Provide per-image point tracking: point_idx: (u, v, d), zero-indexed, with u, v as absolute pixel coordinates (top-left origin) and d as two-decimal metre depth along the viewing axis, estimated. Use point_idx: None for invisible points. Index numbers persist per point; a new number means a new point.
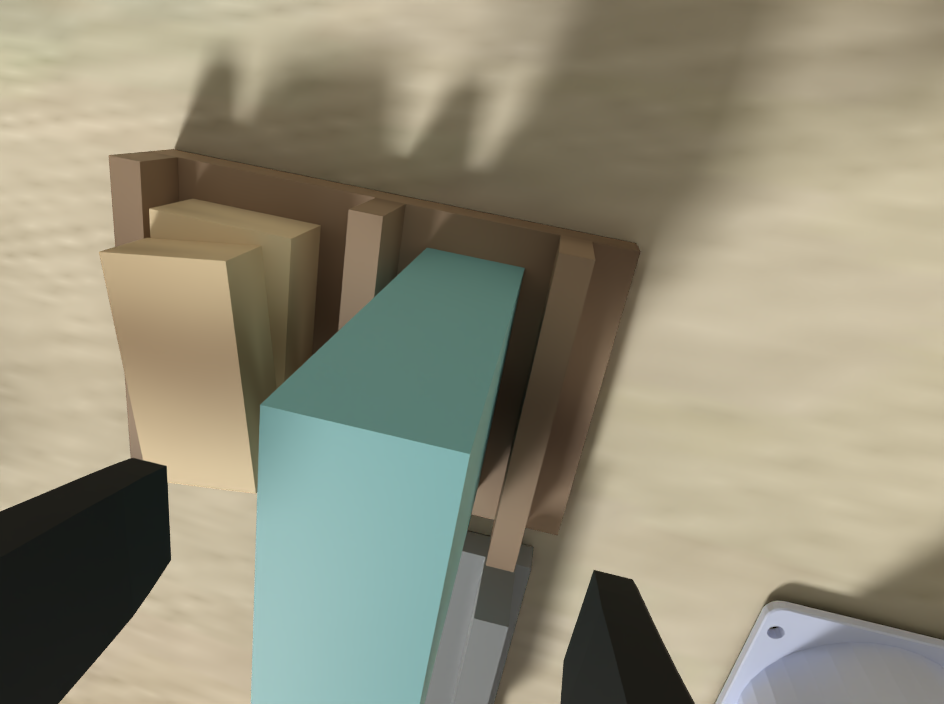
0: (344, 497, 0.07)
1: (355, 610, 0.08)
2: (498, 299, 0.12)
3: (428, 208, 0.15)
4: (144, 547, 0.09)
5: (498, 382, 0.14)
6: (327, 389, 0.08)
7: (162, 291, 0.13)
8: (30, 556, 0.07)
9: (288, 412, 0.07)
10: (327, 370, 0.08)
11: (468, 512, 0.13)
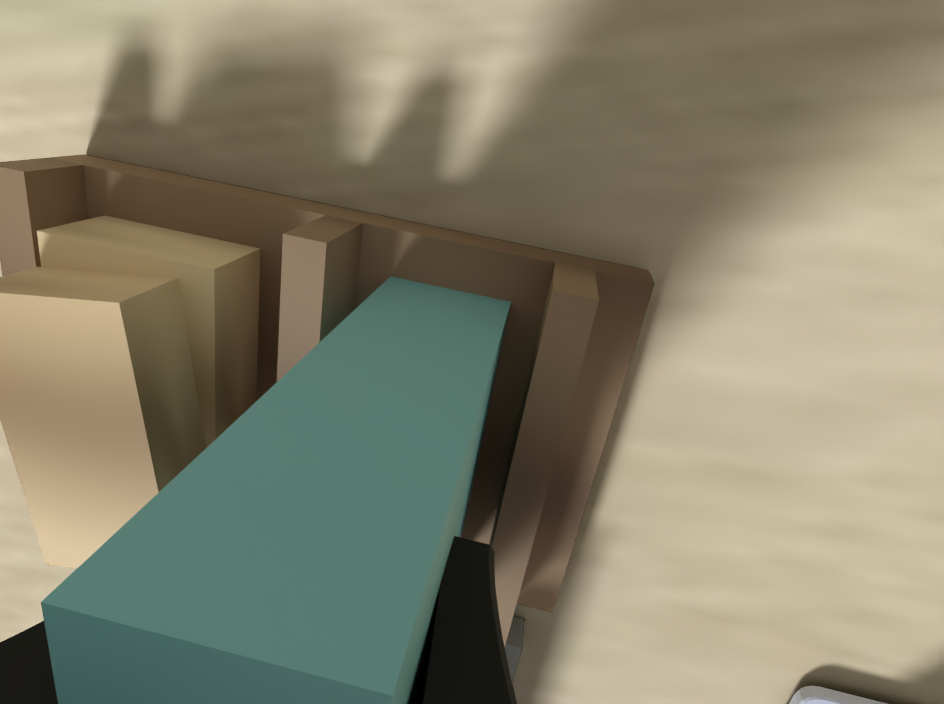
0: None
1: None
2: (473, 353, 0.09)
3: (391, 228, 0.12)
4: None
5: (476, 450, 0.11)
6: (177, 550, 0.05)
7: (43, 339, 0.10)
8: None
9: (91, 613, 0.04)
10: (190, 509, 0.05)
11: None
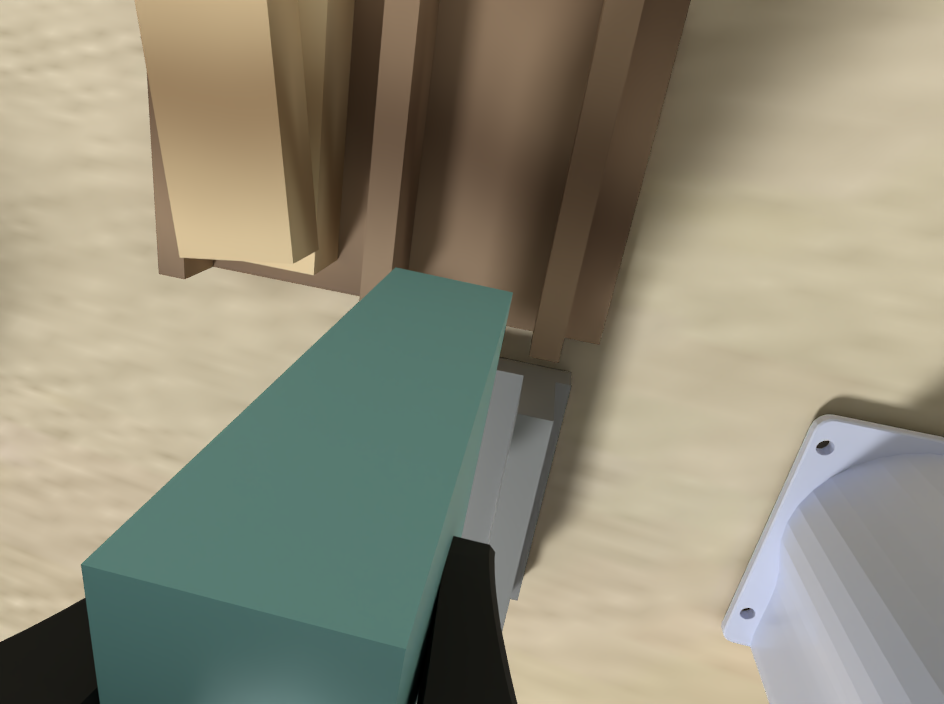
0: (223, 692, 0.05)
1: None
2: (476, 342, 0.10)
3: None
4: None
5: (479, 436, 0.11)
6: (204, 520, 0.05)
7: (197, 21, 0.13)
8: None
9: (127, 574, 0.05)
10: (212, 482, 0.06)
11: None
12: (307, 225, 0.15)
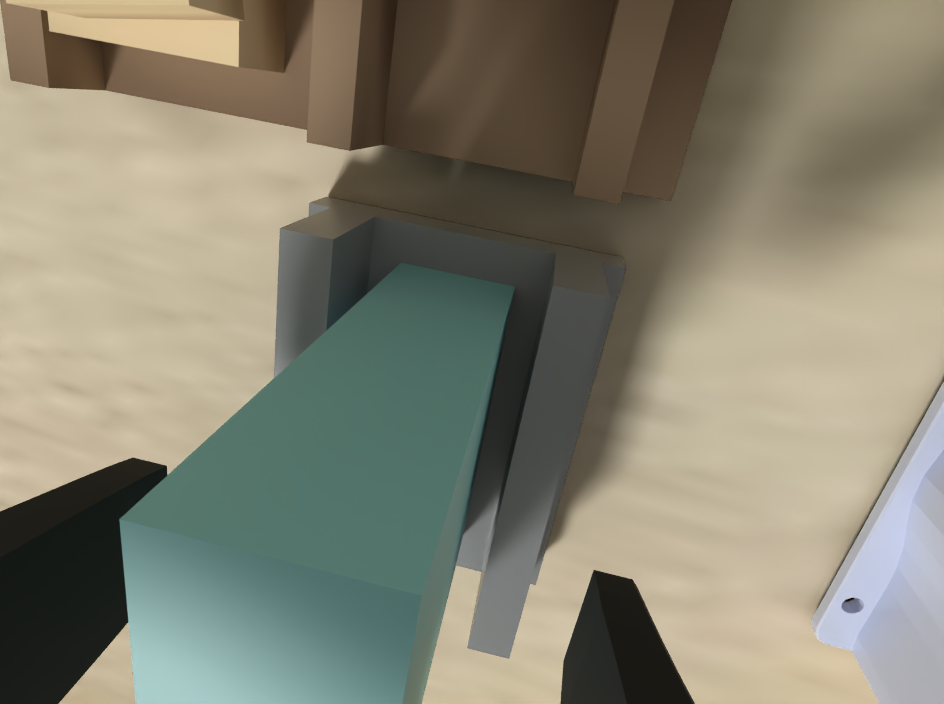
0: (248, 644, 0.05)
1: None
2: (481, 331, 0.10)
3: None
4: None
5: (483, 424, 0.12)
6: (230, 484, 0.06)
7: None
8: (30, 557, 0.07)
9: (161, 529, 0.05)
10: (235, 452, 0.06)
11: (445, 587, 0.11)
12: None
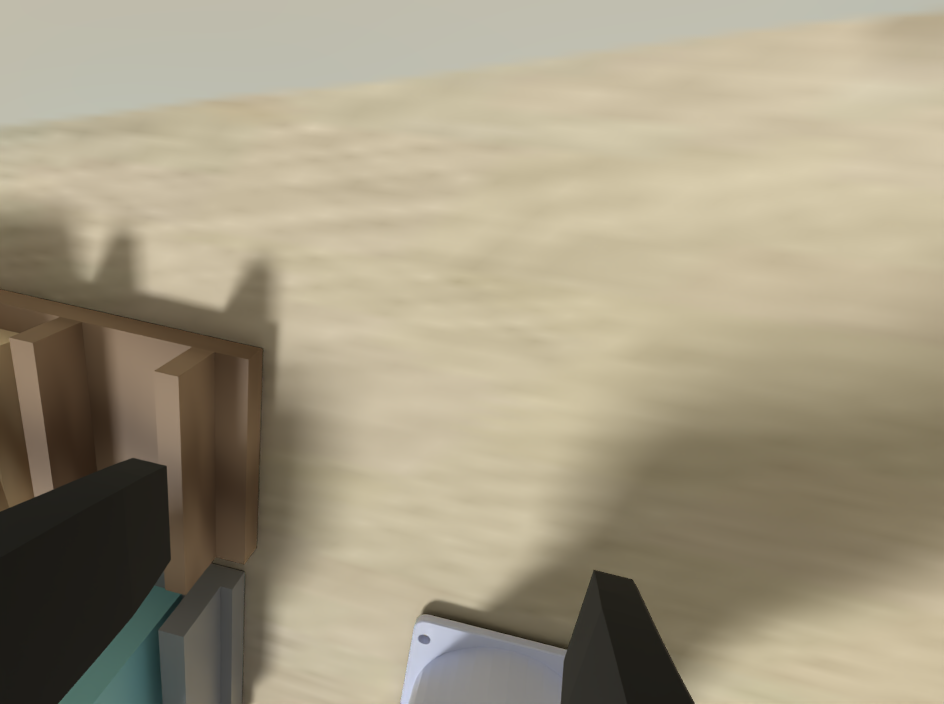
0: None
1: None
2: (122, 652, 0.22)
3: (98, 325, 0.20)
4: (144, 547, 0.09)
5: (148, 678, 0.23)
6: None
7: None
8: (30, 556, 0.07)
9: None
10: None
11: None
12: None
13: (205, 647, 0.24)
